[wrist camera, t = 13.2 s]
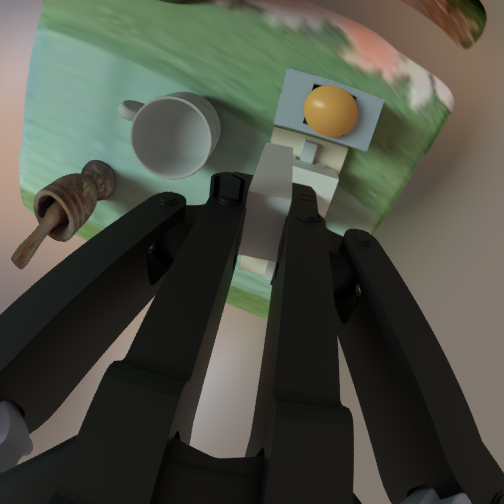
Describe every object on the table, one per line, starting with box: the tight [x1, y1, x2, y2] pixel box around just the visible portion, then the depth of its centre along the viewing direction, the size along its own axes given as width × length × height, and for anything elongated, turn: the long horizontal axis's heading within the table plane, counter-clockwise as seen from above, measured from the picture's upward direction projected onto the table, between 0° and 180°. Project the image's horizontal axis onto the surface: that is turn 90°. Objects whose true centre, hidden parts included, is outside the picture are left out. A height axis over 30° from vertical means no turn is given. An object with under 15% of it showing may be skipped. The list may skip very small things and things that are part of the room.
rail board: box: [239, 124, 348, 280], centre depth 42 cm, size 24×10×4 cm, turn 168°
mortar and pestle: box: [11, 160, 115, 269], centre depth 38 cm, size 12×9×20 cm
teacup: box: [118, 92, 221, 180], centre depth 34 cm, size 14×11×8 cm
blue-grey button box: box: [273, 68, 384, 152], centre depth 30 cm, size 6×10×10 cm, turn 78°
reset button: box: [304, 85, 358, 137], centre depth 28 cm, size 5×5×7 cm
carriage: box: [292, 155, 339, 218], centre depth 33 cm, size 8×8×14 cm
